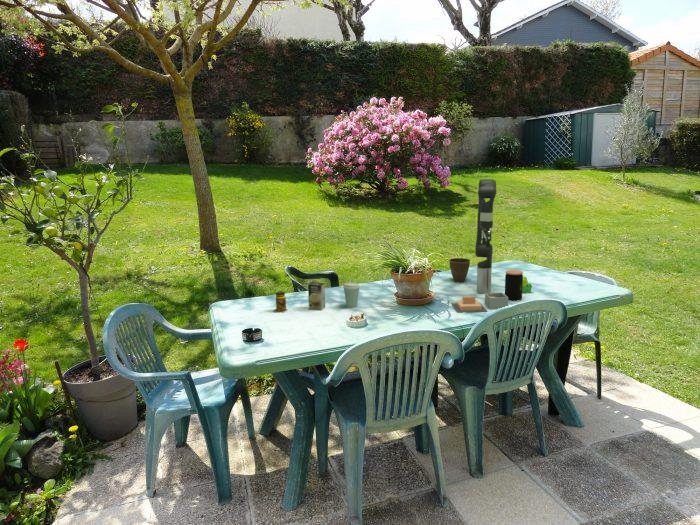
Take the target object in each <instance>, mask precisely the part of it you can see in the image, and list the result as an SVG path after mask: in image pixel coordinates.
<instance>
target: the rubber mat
mask: <svg viewBox="0 0 700 525" xmlns="http://www.w3.org/2000/svg"><path fill="white" fill-rule="evenodd" d="M478 302H479V303H480V304H481V306H482V310H463V311H461V310H460V309H459V308H458V306H457V305H456V302H453V303H452V302H451V303H450V305H451V304H452V305H451V306H452V307H454V308H453V309H454V310H455V312H456V313H457V314H459V313H463V312H466V313H488V310H487V309H486V307H485V306H484V305H483V304H482V303H481V302H480V301H478Z"/></svg>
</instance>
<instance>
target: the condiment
mask: <svg viewBox="0 0 700 525" xmlns="http://www.w3.org/2000/svg"><path fill="white" fill-rule="evenodd" d="M286 299H287V298H286V293H285V292H284V291H281V290H280V291H277V292H275V305H276V306H275V307H276V308H275V309H273V310H272V311H271V312H272V313H285V312H287V311H288V310H289V308H287V300H286Z"/></svg>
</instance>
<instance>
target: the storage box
mask: <svg viewBox="0 0 700 525" xmlns="http://www.w3.org/2000/svg"><path fill="white" fill-rule="evenodd" d="M484 305H485V306H486V307H487V309H489V310H499V309H498V308H502V307H505V306H508V307H509V300H508V297H507V296H506V295H505V292H491V293H485V294H484Z"/></svg>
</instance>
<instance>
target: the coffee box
mask: <svg viewBox="0 0 700 525" xmlns="http://www.w3.org/2000/svg"><path fill="white" fill-rule="evenodd" d="M325 288H326V286H325V282H317V281H316V282H315V281H311V282H310V283H308V284H307V289H308V290H307V293H308V295H307V296H308V309H309V310H316V311H323V310H324V309H325V308H326V289H325Z"/></svg>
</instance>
